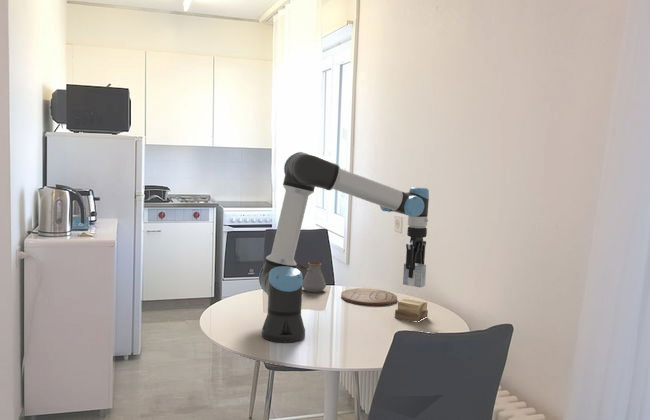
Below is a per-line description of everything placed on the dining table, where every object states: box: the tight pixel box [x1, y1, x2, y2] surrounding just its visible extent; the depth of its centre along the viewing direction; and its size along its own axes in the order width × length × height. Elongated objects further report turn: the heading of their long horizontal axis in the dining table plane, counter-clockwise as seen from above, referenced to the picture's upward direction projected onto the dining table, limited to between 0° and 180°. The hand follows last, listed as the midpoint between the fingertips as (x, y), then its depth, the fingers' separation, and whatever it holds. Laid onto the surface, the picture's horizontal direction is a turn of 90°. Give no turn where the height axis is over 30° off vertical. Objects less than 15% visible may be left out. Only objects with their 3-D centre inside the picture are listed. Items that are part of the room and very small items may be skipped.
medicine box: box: [402, 262, 427, 288], centre depth 226 cm, size 8×4×9 cm, turn 57°
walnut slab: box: [394, 308, 429, 323], centre depth 228 cm, size 9×10×4 cm
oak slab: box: [397, 297, 428, 314], centre depth 228 cm, size 8×9×4 cm
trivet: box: [340, 287, 398, 307], centre depth 255 cm, size 25×25×2 cm
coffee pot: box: [296, 261, 327, 294], centre depth 260 cm, size 21×12×15 cm, turn 148°
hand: (414, 284), depth 227 cm, fingers closed on medicine box, 4 cm apart
